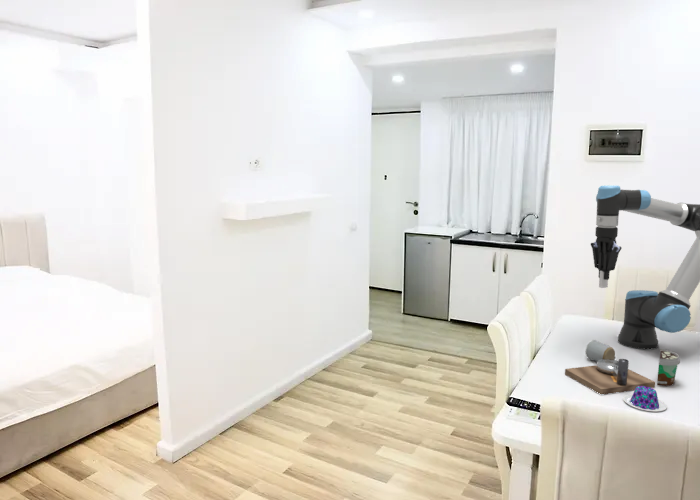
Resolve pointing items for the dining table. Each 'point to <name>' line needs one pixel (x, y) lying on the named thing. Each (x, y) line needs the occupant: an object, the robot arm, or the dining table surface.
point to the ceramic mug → (599, 351)
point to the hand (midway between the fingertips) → (603, 287)
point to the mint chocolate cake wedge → (667, 367)
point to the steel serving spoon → (615, 369)
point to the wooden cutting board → (607, 380)
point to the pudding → (645, 399)
